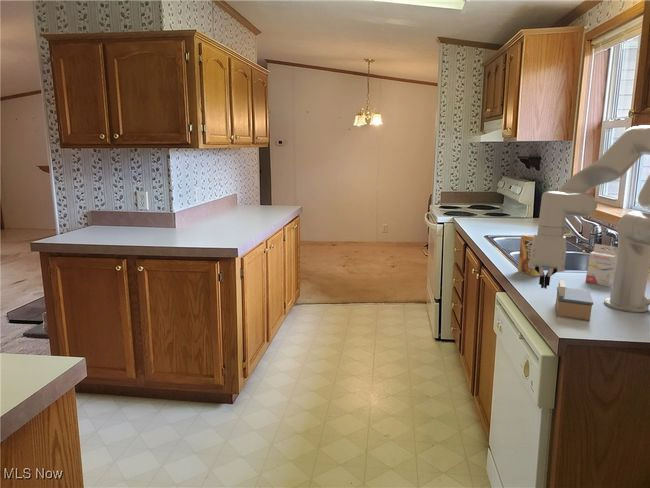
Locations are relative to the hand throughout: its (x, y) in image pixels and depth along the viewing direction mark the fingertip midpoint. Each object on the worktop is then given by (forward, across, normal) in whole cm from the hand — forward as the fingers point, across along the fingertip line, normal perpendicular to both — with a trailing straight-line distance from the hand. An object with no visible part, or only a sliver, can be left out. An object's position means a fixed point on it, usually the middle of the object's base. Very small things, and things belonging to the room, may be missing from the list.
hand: (543, 287), depth 159 cm
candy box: (+7, +4, -45) cm, 46 cm away
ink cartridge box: (+7, -21, -43) cm, 48 cm away
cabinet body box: (+7, -9, 0) cm, 11 cm away
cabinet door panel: (+2, -9, 0) cm, 9 cm away
